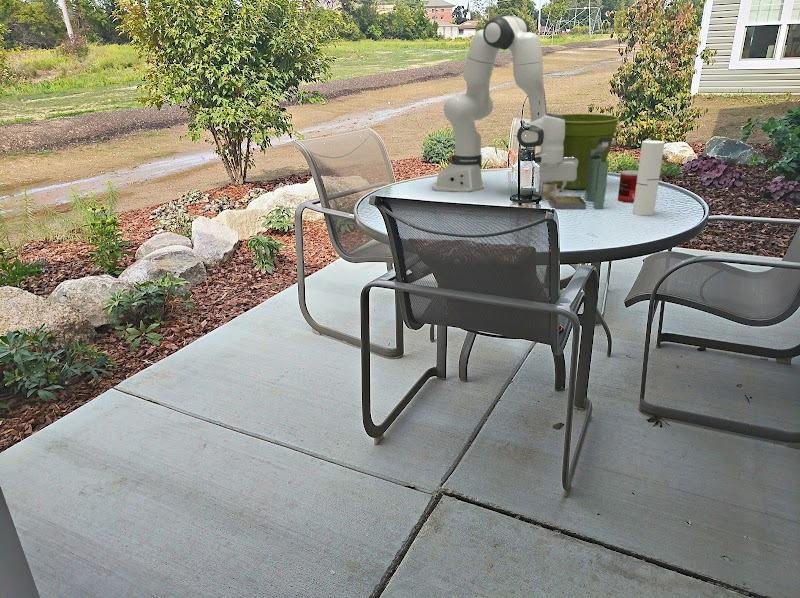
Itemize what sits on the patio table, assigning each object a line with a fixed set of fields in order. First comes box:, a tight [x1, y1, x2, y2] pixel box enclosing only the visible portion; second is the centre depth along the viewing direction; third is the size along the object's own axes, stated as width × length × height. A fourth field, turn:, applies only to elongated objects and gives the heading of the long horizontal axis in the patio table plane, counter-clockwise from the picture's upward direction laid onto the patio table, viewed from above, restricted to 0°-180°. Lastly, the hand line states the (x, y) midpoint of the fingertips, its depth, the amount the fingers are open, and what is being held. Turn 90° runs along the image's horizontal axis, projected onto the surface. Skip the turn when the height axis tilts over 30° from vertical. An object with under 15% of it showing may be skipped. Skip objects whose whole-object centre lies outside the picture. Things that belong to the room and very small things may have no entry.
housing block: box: [540, 181, 558, 201], centre depth 235 cm, size 5×5×6 cm
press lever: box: [589, 138, 611, 157], centre depth 218 cm, size 16×4×4 cm, turn 176°
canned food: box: [617, 169, 638, 203], centre depth 228 cm, size 8×8×11 cm
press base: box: [547, 157, 609, 210], centre depth 223 cm, size 19×17×17 cm
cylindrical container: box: [632, 140, 665, 216], centre depth 206 cm, size 7×7×25 cm
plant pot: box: [552, 113, 620, 190], centre depth 251 cm, size 30×30×29 cm
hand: (549, 192), depth 235 cm, fingers open, 8 cm apart
